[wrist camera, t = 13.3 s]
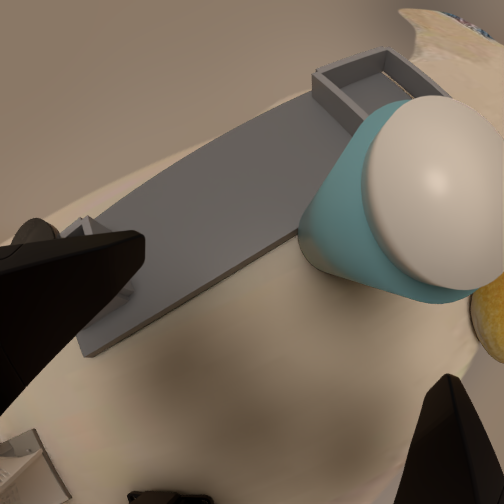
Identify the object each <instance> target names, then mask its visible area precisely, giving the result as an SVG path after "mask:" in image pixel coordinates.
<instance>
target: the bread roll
mask: <svg viewBox="0 0 504 504" xmlns="http://www.w3.org/2000/svg"><path fill="white" fill-rule="evenodd" d="M471 317H472V323H473V326H474V329H475V331H476V335H477V337H478V339H479V341H480V342H481V344H482V346H483V347H484V348H485V350H486V351H487V352H488V354H489V355H491V356H492V357H493V358H494V359H495V360H497V361H499V362H500V363H504V272H503V273H502V274H501V275H500V276H499V277H498V278H496V279H495V280H494V281H492V282H491V283H489V284H487V285H485V286H483V287H480V288H479V289H478V290H476V291H475V292H474V293H473V296H472V302H471Z"/></svg>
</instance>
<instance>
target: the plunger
mask: <svg viewBox="0 0 504 504" xmlns="http://www.w3.org/2000/svg"><path fill="white" fill-rule="evenodd" d="M59 238H64V237H62V236H60V233H59V231H58V230H57V229H56V228H55V227H54V226H53V225H51V224H49V223H47V222H45V221H44V220H42V219H39V218H33V219H30V220H28V221H27V222H25V223H24V224H23V225H22V226H21V227H20V229H19V230H18V232H17V233H16V234H15V236H14V238H13V240H12V243H11V245H16V244H25V243H30V242H37V241H44V240H52V239H59Z"/></svg>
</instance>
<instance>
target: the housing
mask: <svg viewBox="0 0 504 504" xmlns="http://www.w3.org/2000/svg"><path fill="white" fill-rule="evenodd" d="M382 71H384V72H385V73H386V74H388V75H389V76H390V77H391V78H392V79H394V80H395V81H396V82H397V83H398V84H400V85H401V86H402V87H403V88H404V89H405V90H407V91H408V92H409V93H410V94H411V95H412V96H413V97H414V98H418V97H422V96H430V95H432V96H444V97H449V98H452V97H451V96H450V95H449V94H448V93H447V92H446V91H444V90H443V89H442V88H441V87H440V86H439V85H438V84H437V83H435V82H434V81H433V80H432V79H431V78H430V77H428V76H427V75H426V74H425V73H424V72H422V71H421V70H420V69H419V68H417V67H416V66H415V65H414V64H412V63H411V62H410V61H408V60H407V59H406V58H405V57H403V56H402V55H400V54H399V53H398V52H396V51H395V50H393V49H392V48H391V47H386V48H384V47H383V46H381V47H377V48H374V49H371V50H368V51H365V52H362V53H359V54H356V55H353V56H350V57H347V58H344V59H341V60H339V61H336V62H333V63H331V64H328V65H325V66H323V67H320V68H318V69H316V72H315V73H313V74H312V91H309V92H307V93H305V94H303V95H300V96H298V97H296V98H294V99H292V100H290V101H287V102H285V103H283V104H281V105H279V106H277V107H275V108H273V109H271V110H269V111H267V112H265V113H263V114H261V115H259V116H257V117H255V118H253V119H251V120H249V121H247V122H246V123H244V124H242V125H240V126H238V127H236V128H234V129H232V130H231V131H229V132H227V133H225V134H223V135H222V136H220V137H218V138H216V139H215V140H213V141H211V142H209V143H208V144H206V145H204V146H202V147H201V148H199V149H197V150H196V151H194V152H192V153H191V154H189V155H187V156H186V157H184V158H182V159H181V160H179V161H178V162H176V163H174V164H173V165H171V166H170V167H168V168H167V169H165V170H163V171H162V172H160V173H159V174H157V175H156V176H154V177H153V178H151V179H150V180H148V181H147V182H145V183H144V184H142V185H141V186H139V187H138V188H136V189H135V190H133V191H132V192H131V193H129V194H128V195H126V196H125V197H123V198H122V199H121V200H119V201H118V202H116V203H115V204H114V205H112V206H111V207H110V208H108V209H107V210H106V211H104V212H103V213H102V214H100V215H99V216H98V217H96V218H95V219H92V218H91V217H89V216H88V215H87V216H86V217H85V218H84V219H82V218H81V217H80V218H78V219H77V220H76V221H75V222H73V223H72V224H71V225H70V226H68V227H67V228H66V229H65V230H64V231H62V232H61V233H60V236H62V237H64V238H67V237H75V236H83V235H91V234H100V233H108V232H117V231H126V230H135V231H137V232H139V233H141V234H143V235H144V236H145V239H146V248H145V262H144V264H143V266H142V267H141V268H140V269H139V270H138V271H137V273H136V274H135V275H134V276H133V277H132V278H131V279H130V280H129V282H128V283H127V284H126V285H125V286H124V287H123V288H122V290H121V291H120V292H119V293H118V294H117V295H116V296H115V298H114V299H113V300H112V301H111V302H110V303H109V304H108V305H107V306H106V307H105V308H104V309H103V310H101V311H100V312H99V313H98V314H97V315H96V316H95V317H94V318H93V319H92V320H91V321H90V322H89V323H88V324H87V325H86V326H85V327H84V328H83V329H82V330H81V331H80V332H79V333H78V334H77V335H76V338H77V340H78V343H79V346H80V349H81V352H82V354H83V357H89V358H92V357H94V356H96V355H97V354H99V353H101V352H102V351H104V350H106V349H108V348H109V347H111V346H113V345H114V344H116V343H118V342H119V341H121V340H123V339H124V338H126V337H128V336H129V335H131V334H133V333H134V332H136V331H138V330H140V329H141V328H143V327H145V326H146V325H148V324H150V323H151V322H153V321H155V320H156V319H158V318H160V317H161V316H163V315H165V314H166V313H168V312H170V311H171V310H173V309H175V308H176V307H178V306H180V305H181V304H183V303H185V302H186V301H188V300H190V299H191V298H193V297H195V296H196V295H198V294H200V293H201V292H203V291H205V290H206V289H208V288H210V287H211V286H213V285H215V284H216V283H218V282H220V281H221V280H223V279H224V278H226V277H228V276H229V275H231V274H233V273H234V272H236V271H238V270H239V269H241V268H243V267H244V266H246V265H248V264H249V263H251V262H253V261H254V260H256V259H257V258H259V257H261V256H262V255H264V254H266V253H267V252H269V251H271V250H272V249H274V248H276V247H277V246H279V245H280V244H282V243H284V242H285V241H287V240H289V239H290V238H292V237H293V236H295V235H297V234H298V227H299V222H300V219H301V217H302V215H303V213H304V211H305V210H306V208H307V207H308V205H309V204H310V202H311V201H312V199H313V198H314V196H315V194H316V193H317V191H318V190H319V188H320V187H321V185H322V184H323V182H324V181H325V179H326V178H327V176H328V174H329V173H330V171H331V170H332V168H333V167H334V165H335V164H336V162H337V160H338V159H339V157H340V156H341V154H342V153H343V151H344V150H345V148H346V146H347V145H348V143H349V142H350V140H351V139H352V137H353V135H354V134H355V132H356V131H357V129H358V128H359V126H360V125H361V124H362V123H363V121H364V120H365V119H366V118H367V117H368V116H369V115H371V114H372V113H373V112H374V111H376V110H377V109H379V108H381V107H383V106H385V105H387V104H390V103H393V102H396V101H402V100H412V98H411V97H410V96H409V95H407V94H406V93H405V92H404V91H403V90H402V89H401V88H399V87H398V86H397V85H396V84H395V83H394V82H392V81H391V80H390V79H389V78H387V77H386V76H385V75H384V74H383V73H381V72H382ZM452 99H453V98H452Z"/></svg>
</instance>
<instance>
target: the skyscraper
mask: <svg viewBox="0 0 504 504" xmlns="http://www.w3.org/2000/svg"><path fill="white" fill-rule="evenodd" d="M71 498H72V497H71V495H70V494H69V492H68V491H67V489H66V487H65V486H64V484H63V482H62V481H61V479H60V477H59V475H58V474H57V472H56V470H55V468H54V466H53V465H52V463H51V461H50V459H49V457H48V455H47V453H46V451H45V449H44V447H43V445H42V443H41V441H40V439H39V436H38V434H37V432H36V430H35V429H31V430H29V431H27V432H25V433H23V434H21V435H19V436H16V437H14V438H12V439H10V440H8V441H5V442H3V443H0V504H61V503H63V502H65V501H67V500H69V499H71Z"/></svg>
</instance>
